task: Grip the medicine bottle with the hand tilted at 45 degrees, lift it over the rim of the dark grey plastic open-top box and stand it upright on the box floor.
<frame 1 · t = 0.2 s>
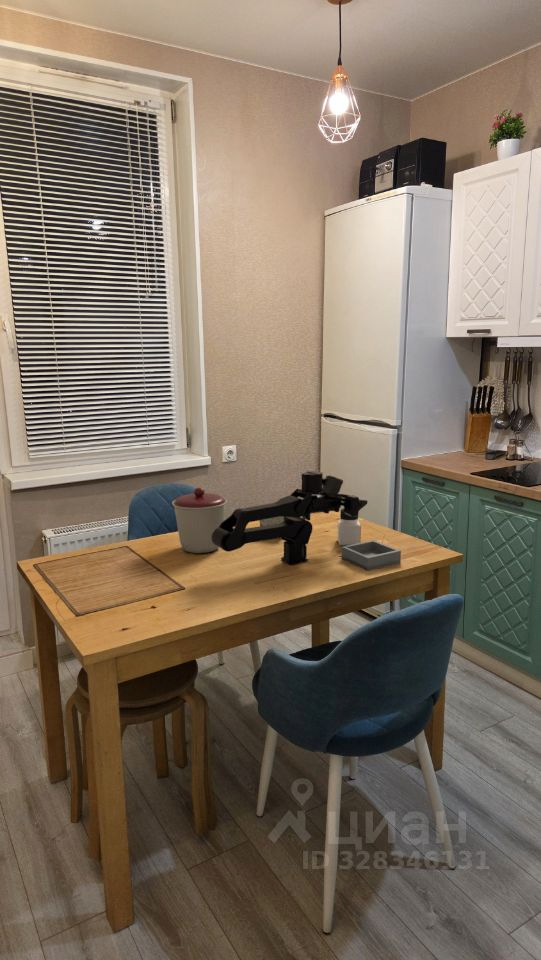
hand: (358, 499, 205), 17 cm above the table, tool horizontal, fingers open, 9 cm apart
food container: (276, 534, 224), on the table
medicine bottle: (348, 543, 213), on the table
open-top box: (370, 560, 194), on the table
canister: (201, 549, 208), on the table
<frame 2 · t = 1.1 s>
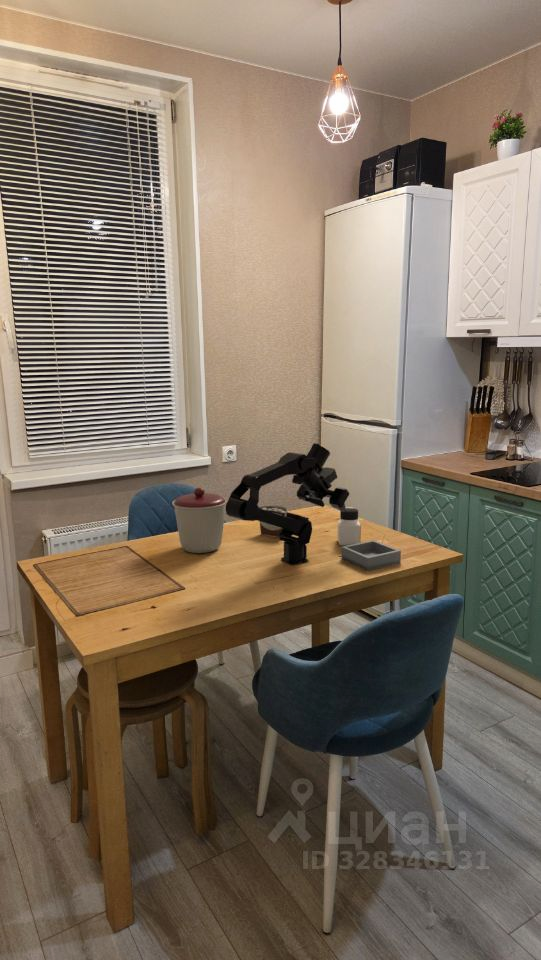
hand: (334, 508, 205), 14 cm above the table, tool tilted 45°, fingers open, 9 cm apart
nothing on the table moved.
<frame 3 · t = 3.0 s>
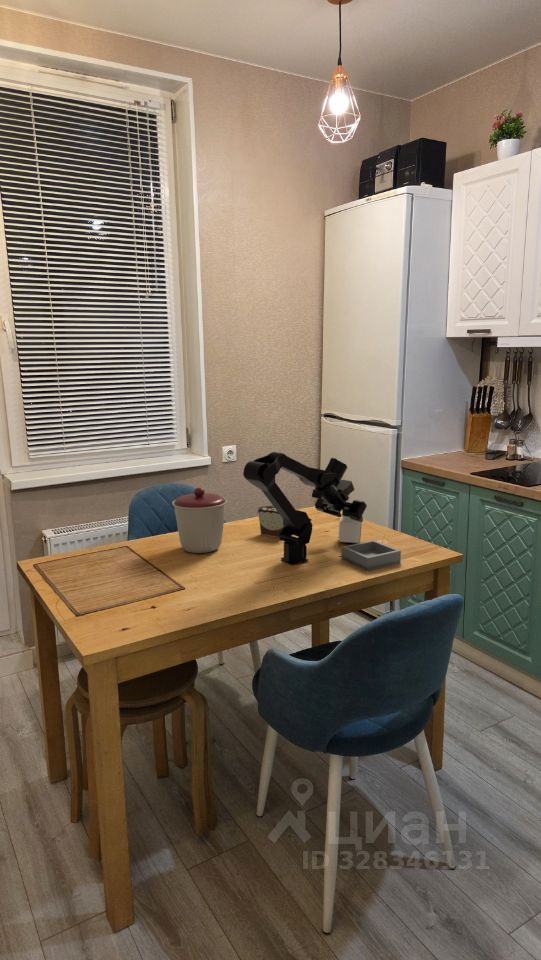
hand: (351, 518, 213), 8 cm above the table, tool tilted 45°, fingers closed on medicine bottle, 9 cm apart
medicine bottle: (348, 541, 213), on the table, touching gripper
everything else where it was.
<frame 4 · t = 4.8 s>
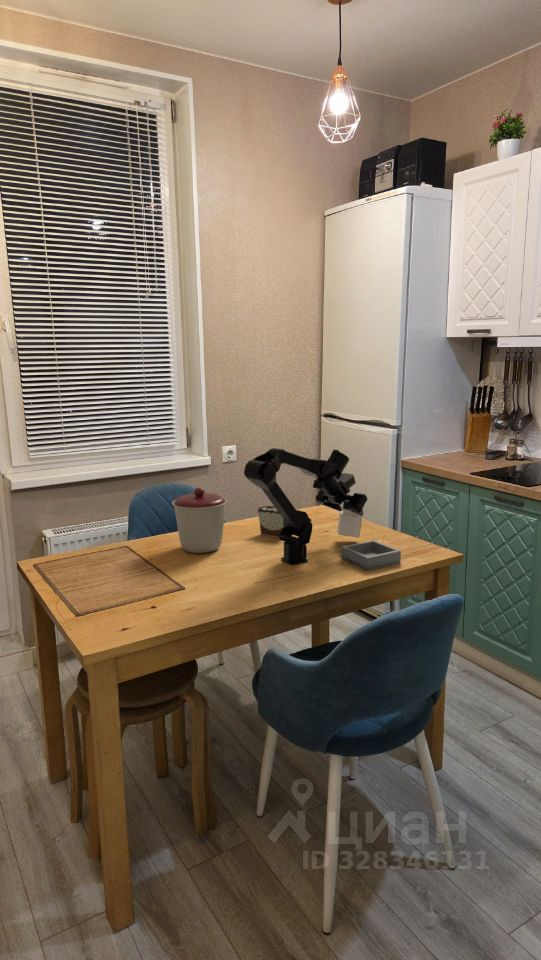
hand: (351, 512, 212), 10 cm above the table, tool tilted 45°, fingers closed on medicine bottle, 9 cm apart
medicine bottle: (347, 535, 212), point 3 cm above the table, touching gripper
everything else where it was.
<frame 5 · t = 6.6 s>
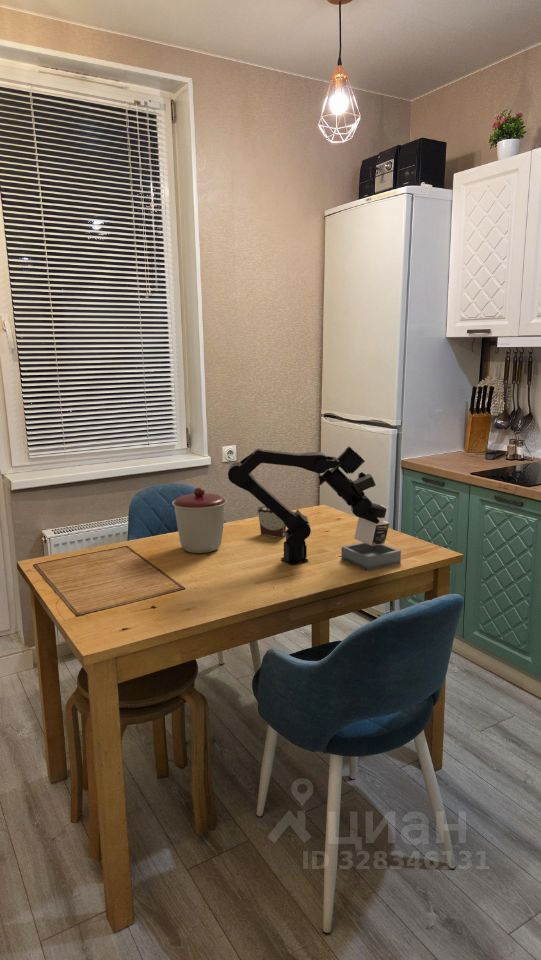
hand: (375, 518, 193), 13 cm above the table, tool tilted 45°, fingers closed on medicine bottle, 9 cm apart
medicine bottle: (369, 542, 195), point 6 cm above the table, touching gripper
everything else where it was.
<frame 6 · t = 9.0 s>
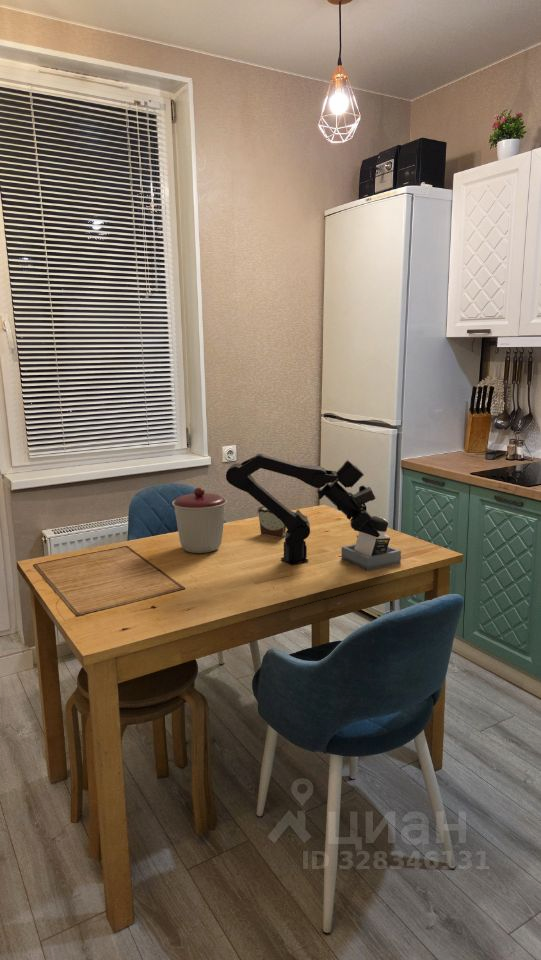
hand: (376, 531, 192), 9 cm above the table, tool tilted 45°, fingers closed on medicine bottle, 9 cm apart
medicine bottle: (368, 554, 194), point 2 cm above the table, touching gripper, open-top box
everything else where it was.
when the fingers open (10 cm above the table, at t = 10.5 s): medicine bottle drops 1 cm, resting on open-top box.
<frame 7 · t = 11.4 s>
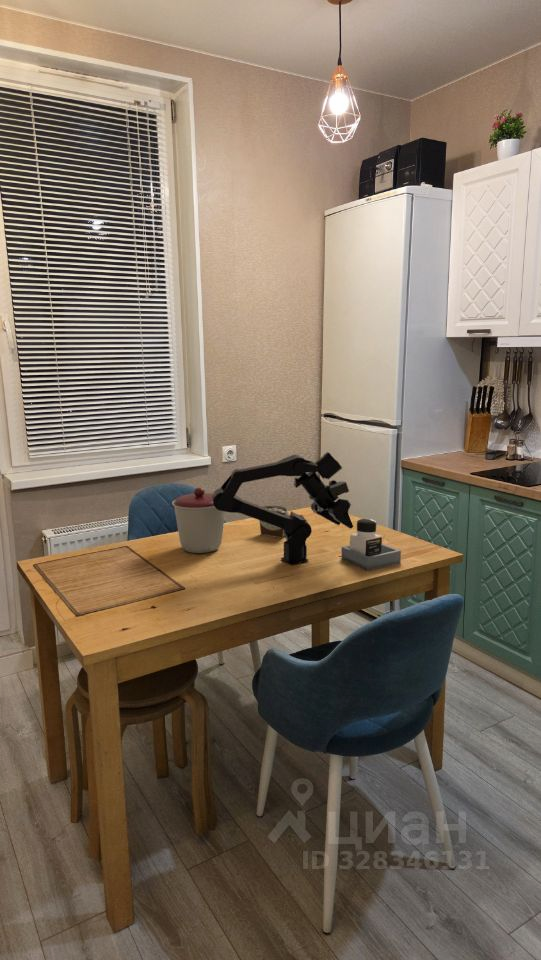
hand: (345, 526, 195), 11 cm above the table, tool tilted 35°, fingers open, 9 cm apart
medicine bottle: (365, 557, 194), point 1 cm above the table, touching open-top box
everything else where it was.
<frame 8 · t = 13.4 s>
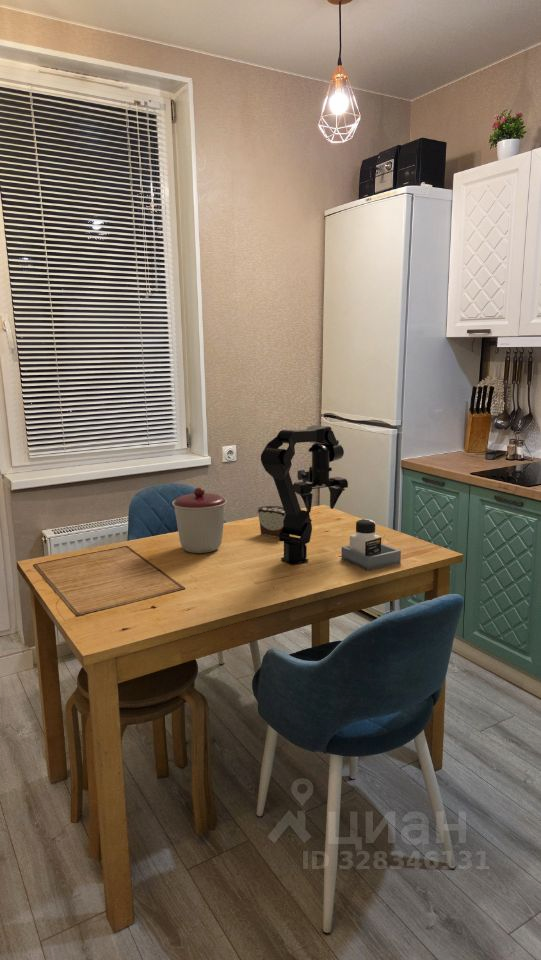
hand: (320, 510, 204), 13 cm above the table, tool pointing down, fingers open, 9 cm apart
nothing on the table moved.
at the end: medicine bottle inside the target area on the open-top box (1.8 cm from its centre), point 0.8 cm above the open-top box's base; medicine bottle tilted 0°; the gripper is holding nothing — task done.
